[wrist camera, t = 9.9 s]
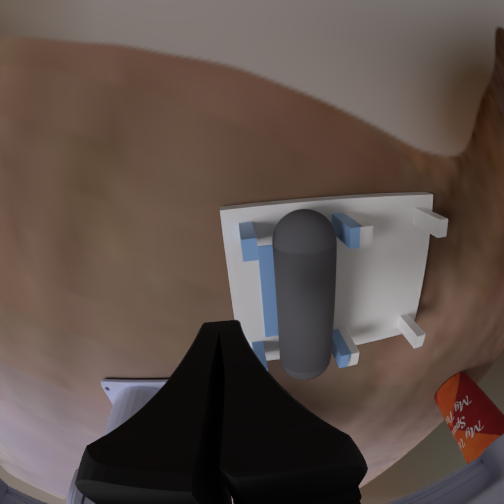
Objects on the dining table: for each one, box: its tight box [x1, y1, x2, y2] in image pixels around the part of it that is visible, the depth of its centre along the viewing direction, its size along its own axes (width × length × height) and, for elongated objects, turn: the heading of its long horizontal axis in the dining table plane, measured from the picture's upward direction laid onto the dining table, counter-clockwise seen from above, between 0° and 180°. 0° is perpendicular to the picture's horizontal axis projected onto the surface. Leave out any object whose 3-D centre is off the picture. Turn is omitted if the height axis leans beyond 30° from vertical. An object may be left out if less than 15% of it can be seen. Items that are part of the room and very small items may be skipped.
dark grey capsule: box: [272, 209, 337, 380], centre depth 18 cm, size 12×4×4 cm, turn 5°
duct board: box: [220, 192, 448, 371], centre depth 19 cm, size 12×15×4 cm
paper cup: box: [435, 372, 504, 464], centre depth 22 cm, size 8×8×14 cm
